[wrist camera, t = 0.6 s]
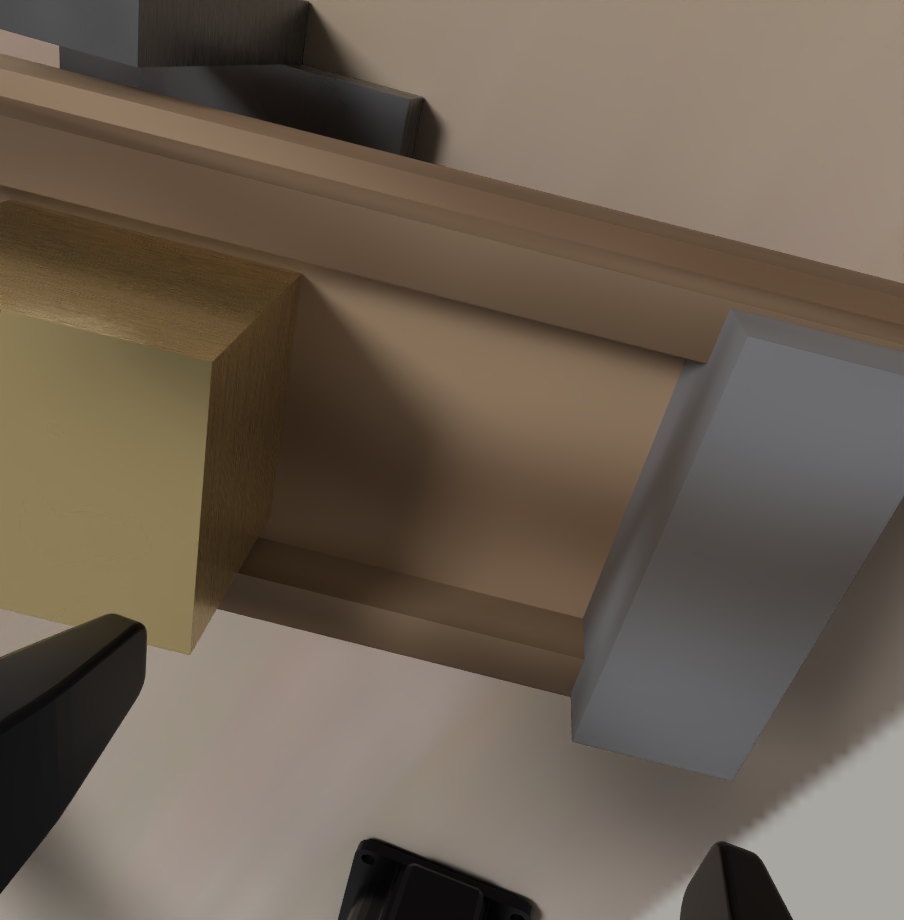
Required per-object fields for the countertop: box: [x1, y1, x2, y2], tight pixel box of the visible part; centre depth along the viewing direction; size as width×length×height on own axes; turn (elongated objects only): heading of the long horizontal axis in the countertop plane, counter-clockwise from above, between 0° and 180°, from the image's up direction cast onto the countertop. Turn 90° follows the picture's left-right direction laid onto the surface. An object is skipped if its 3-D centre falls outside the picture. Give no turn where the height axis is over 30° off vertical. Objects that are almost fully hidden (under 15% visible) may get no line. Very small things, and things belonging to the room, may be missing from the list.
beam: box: [0, 54, 904, 781], centre depth 14 cm, size 9×28×4 cm, turn 78°
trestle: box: [0, 0, 423, 158], centre depth 17 cm, size 12×8×6 cm, turn 168°
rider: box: [0, 199, 302, 655], centre depth 13 cm, size 5×5×4 cm
